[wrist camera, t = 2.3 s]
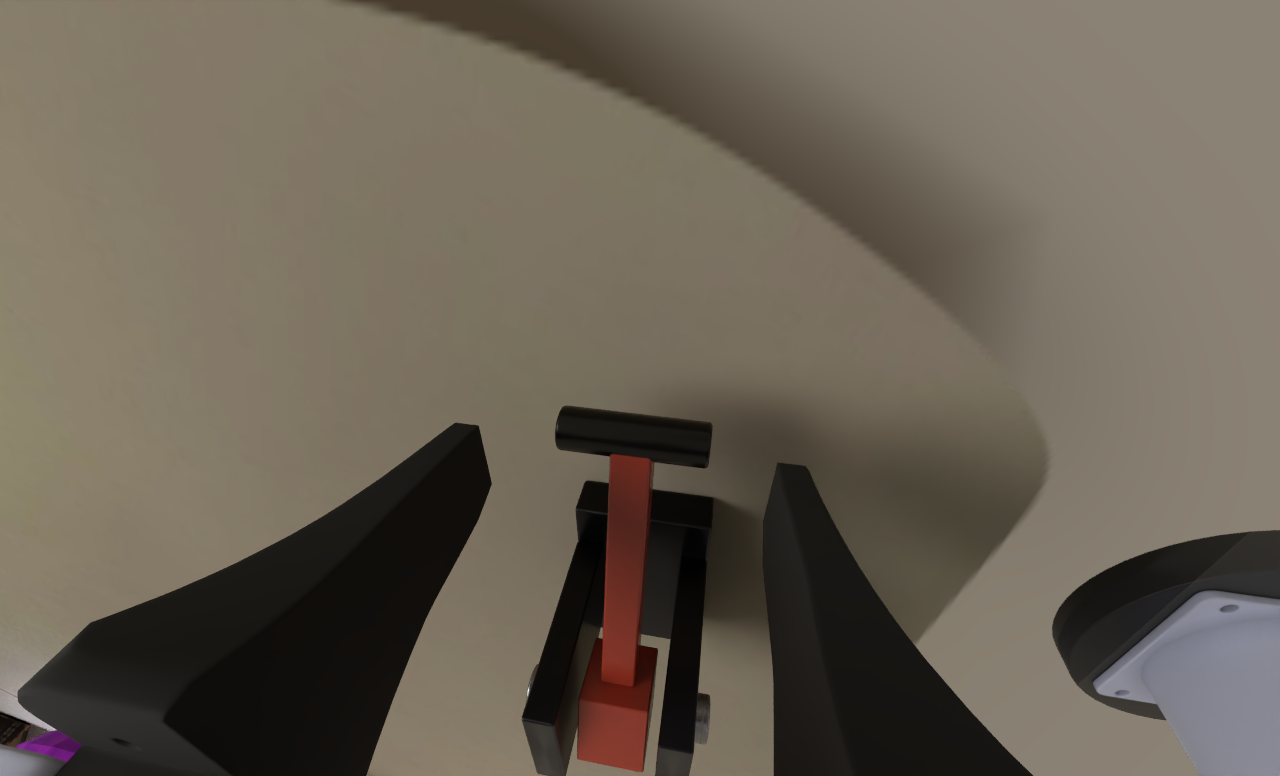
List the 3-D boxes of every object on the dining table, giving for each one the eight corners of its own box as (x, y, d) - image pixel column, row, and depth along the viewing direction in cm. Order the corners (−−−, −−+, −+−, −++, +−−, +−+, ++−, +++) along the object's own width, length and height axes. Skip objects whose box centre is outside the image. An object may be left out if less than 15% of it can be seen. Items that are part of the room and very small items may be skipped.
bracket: (572, 478, 20) (494, 688, 14) (727, 499, 19) (718, 730, 13) (583, 593, 25) (528, 789, 18) (707, 614, 24) (694, 824, 18)
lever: (573, 390, 15) (546, 426, 12) (713, 406, 14) (711, 446, 12) (570, 688, 19) (550, 754, 17) (677, 709, 19) (670, 779, 16)
